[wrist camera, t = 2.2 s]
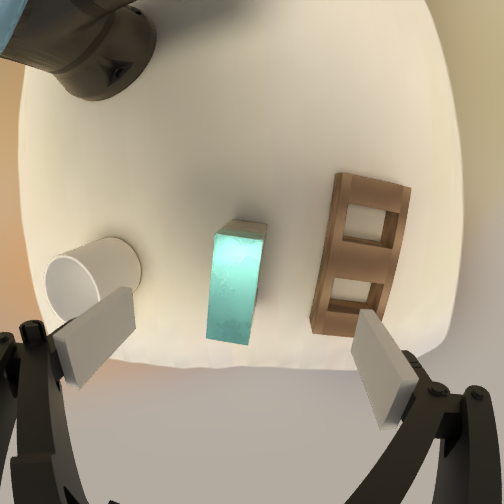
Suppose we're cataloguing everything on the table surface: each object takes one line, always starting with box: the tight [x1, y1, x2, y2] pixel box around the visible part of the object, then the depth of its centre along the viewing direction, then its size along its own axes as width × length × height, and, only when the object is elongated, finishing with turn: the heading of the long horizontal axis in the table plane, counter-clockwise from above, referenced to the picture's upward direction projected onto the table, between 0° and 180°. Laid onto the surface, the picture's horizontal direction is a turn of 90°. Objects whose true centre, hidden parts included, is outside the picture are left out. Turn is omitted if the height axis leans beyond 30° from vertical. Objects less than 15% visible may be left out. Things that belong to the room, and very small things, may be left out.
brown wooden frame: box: [309, 173, 411, 338], centre depth 32 cm, size 18×8×4 cm, turn 173°
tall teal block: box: [206, 220, 267, 345], centre depth 30 cm, size 10×4×10 cm, turn 173°
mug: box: [44, 238, 141, 323], centre depth 32 cm, size 9×12×11 cm
